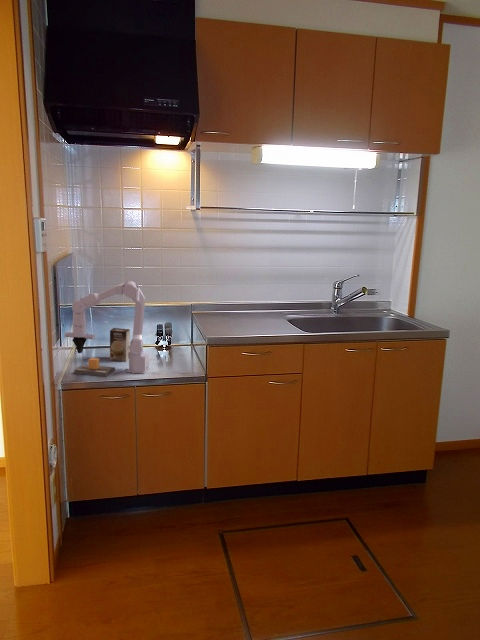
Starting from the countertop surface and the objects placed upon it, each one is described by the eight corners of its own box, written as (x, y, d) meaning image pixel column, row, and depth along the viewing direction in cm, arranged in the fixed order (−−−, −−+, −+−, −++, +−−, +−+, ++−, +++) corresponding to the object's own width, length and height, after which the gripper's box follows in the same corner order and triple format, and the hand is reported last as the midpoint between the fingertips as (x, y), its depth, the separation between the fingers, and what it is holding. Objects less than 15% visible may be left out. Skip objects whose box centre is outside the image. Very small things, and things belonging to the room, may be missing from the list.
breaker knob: (99, 367, 244) (99, 358, 243) (96, 369, 241) (96, 360, 240) (91, 366, 244) (91, 357, 243) (88, 368, 241) (88, 359, 240)
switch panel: (113, 371, 246) (113, 367, 245) (106, 376, 238) (106, 372, 237) (82, 368, 248) (82, 364, 248) (74, 373, 240) (74, 369, 240)
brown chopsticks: (115, 369, 249) (115, 367, 249) (113, 370, 247) (113, 368, 247) (85, 366, 252) (85, 364, 251) (83, 367, 249) (83, 365, 249)
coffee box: (109, 360, 263) (108, 330, 259) (113, 356, 269) (113, 327, 266) (126, 361, 262) (126, 331, 259) (130, 358, 268) (130, 328, 265)
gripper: (97, 324, 242) (97, 351, 245) (69, 322, 244) (70, 349, 247) (90, 327, 235) (91, 355, 238) (61, 325, 237) (62, 352, 240)
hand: (80, 352), depth 242 cm, fingers closed
